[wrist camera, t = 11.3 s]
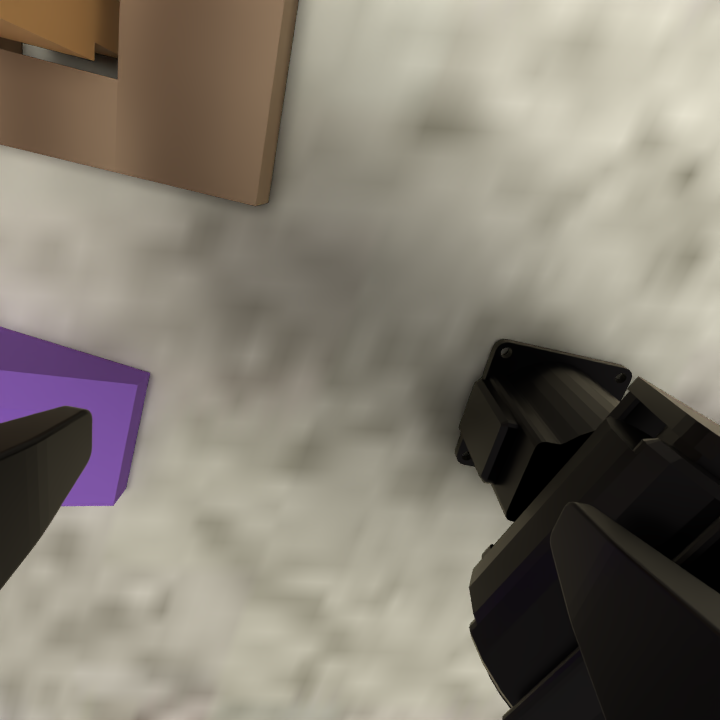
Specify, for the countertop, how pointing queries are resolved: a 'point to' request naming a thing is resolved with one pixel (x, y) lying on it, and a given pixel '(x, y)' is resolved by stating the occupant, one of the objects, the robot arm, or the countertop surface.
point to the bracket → (77, 405)
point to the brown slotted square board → (165, 97)
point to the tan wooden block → (63, 25)
